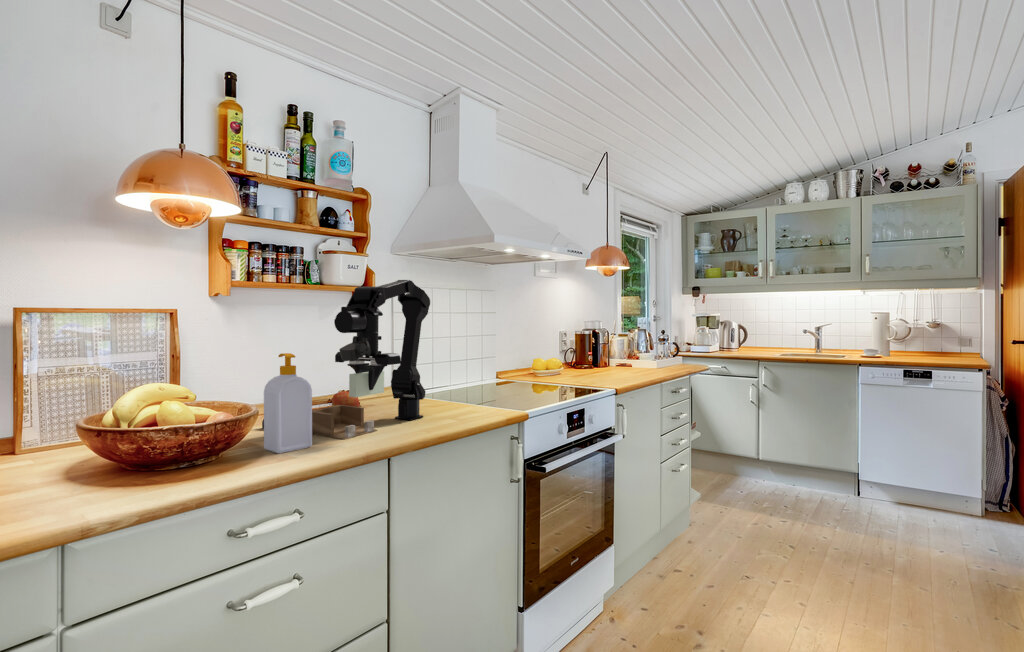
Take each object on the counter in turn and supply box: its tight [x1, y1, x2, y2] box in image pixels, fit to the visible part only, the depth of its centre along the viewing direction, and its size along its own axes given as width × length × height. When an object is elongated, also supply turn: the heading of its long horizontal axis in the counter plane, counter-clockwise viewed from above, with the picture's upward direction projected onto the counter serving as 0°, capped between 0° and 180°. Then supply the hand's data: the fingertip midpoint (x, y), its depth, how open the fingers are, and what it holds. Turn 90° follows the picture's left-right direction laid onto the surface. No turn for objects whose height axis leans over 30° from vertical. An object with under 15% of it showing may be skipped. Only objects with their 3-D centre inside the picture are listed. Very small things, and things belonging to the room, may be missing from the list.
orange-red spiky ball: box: [331, 391, 360, 407], centre depth 167 cm, size 8×8×8 cm
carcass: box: [312, 405, 378, 441], centre depth 146 cm, size 12×14×6 cm
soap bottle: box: [263, 352, 313, 455], centre depth 128 cm, size 9×7×23 cm
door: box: [348, 370, 385, 398], centre depth 145 cm, size 11×2×6 cm, turn 153°
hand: (367, 389), depth 145 cm, fingers closed on door, 2 cm apart
